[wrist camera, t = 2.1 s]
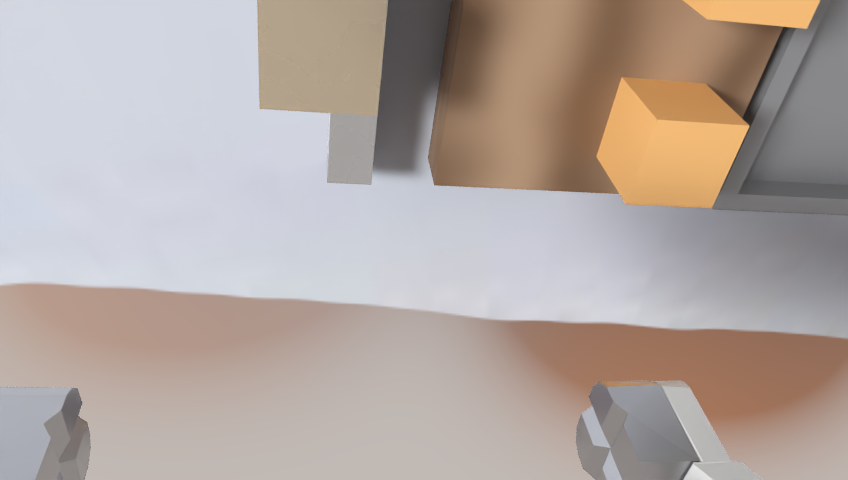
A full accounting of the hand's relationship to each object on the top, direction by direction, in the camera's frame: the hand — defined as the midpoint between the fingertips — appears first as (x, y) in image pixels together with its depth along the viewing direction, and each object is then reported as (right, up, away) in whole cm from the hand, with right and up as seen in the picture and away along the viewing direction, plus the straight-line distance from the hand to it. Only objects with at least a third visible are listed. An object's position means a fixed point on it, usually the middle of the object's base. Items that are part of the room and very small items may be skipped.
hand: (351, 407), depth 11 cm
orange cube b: (+12, +8, +20) cm, 25 cm away
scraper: (-3, +14, +17) cm, 22 cm away
